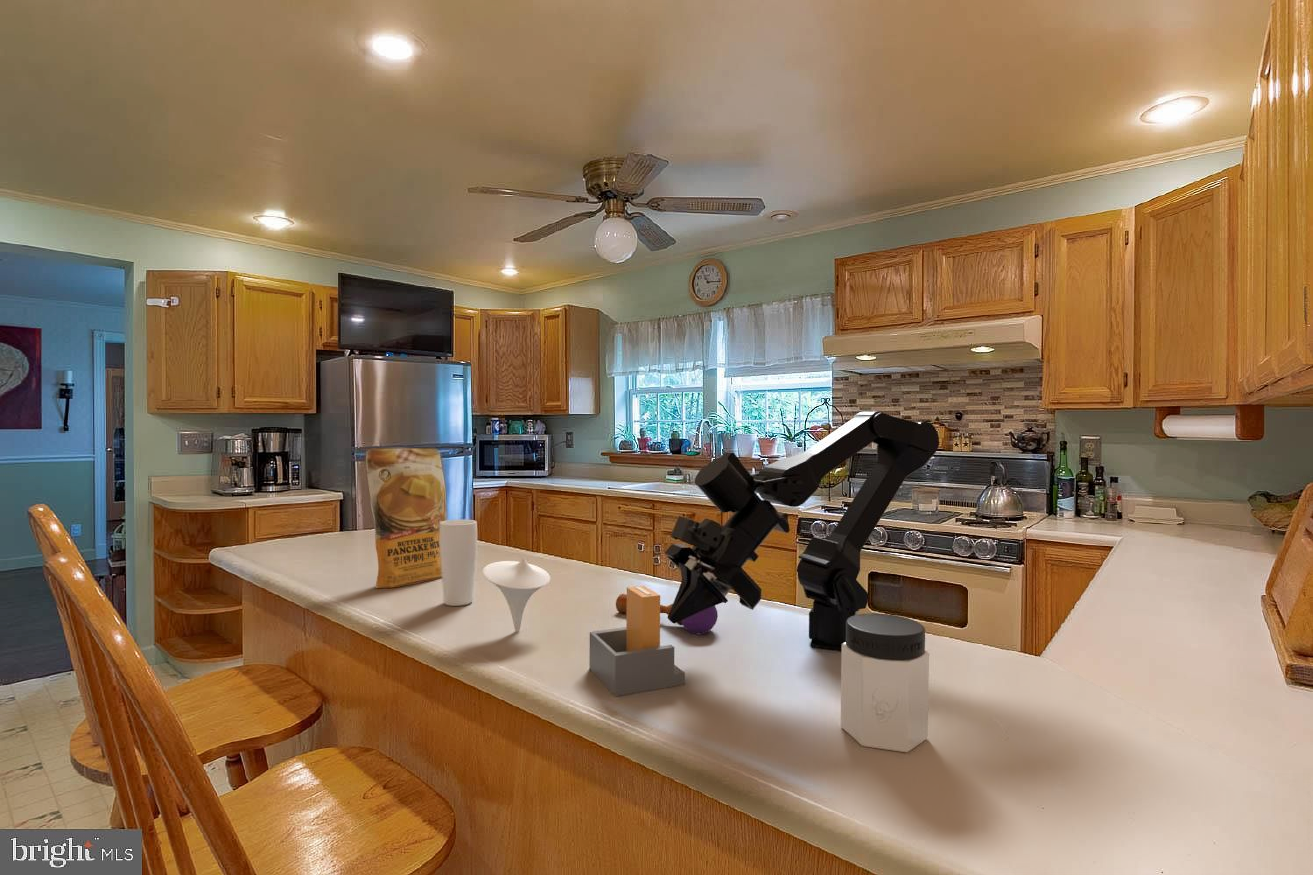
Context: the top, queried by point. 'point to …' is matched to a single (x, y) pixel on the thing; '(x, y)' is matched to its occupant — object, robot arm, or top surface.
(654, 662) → the base
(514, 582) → the white spinning top
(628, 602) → the breaker toggle
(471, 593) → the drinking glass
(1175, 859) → the top surface
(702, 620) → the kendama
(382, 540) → the pancake mix bag
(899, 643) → the jar
